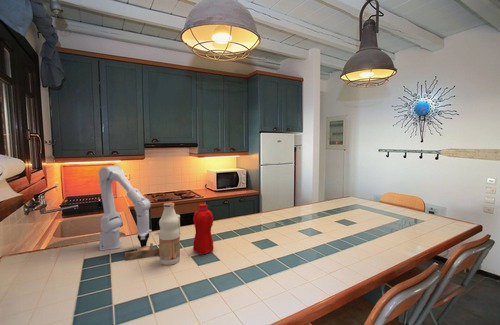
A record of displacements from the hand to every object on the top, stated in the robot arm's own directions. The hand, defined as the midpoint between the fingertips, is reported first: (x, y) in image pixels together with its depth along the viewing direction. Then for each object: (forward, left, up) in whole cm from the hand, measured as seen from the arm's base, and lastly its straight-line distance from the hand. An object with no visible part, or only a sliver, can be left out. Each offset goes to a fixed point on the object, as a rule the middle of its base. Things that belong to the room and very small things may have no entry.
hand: (143, 248), depth 133 cm
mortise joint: (0, -5, -1) cm, 5 cm away
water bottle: (+30, -11, -2) cm, 32 cm away
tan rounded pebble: (0, -4, -1) cm, 4 cm away
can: (+16, +19, -2) cm, 25 cm away
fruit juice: (+12, -17, -2) cm, 21 cm away
